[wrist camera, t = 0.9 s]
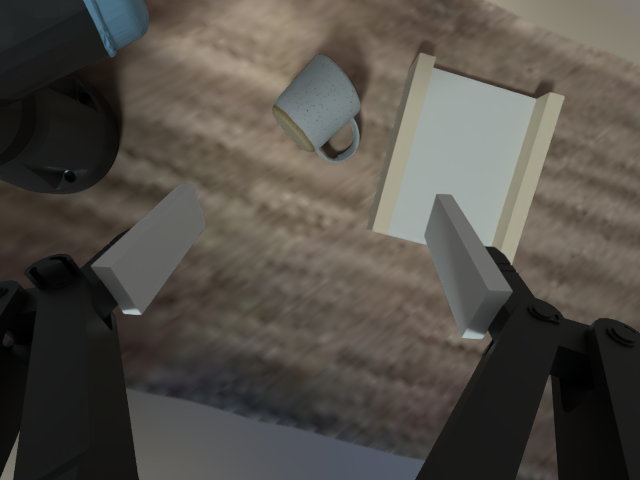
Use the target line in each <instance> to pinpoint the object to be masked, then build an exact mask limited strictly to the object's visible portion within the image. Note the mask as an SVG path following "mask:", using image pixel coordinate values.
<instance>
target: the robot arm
mask: <svg viewBox="0 0 640 480" xmlns="http://www.w3.org/2000/svg"><path fill="white" fill-rule="evenodd" d="M148 26H149V14H148V9H147V6H146V3H145V1H144V0H0V180H3V181H5V182H7V183H10V184H12V185H15V186H17V187H20V188H22V189H26V190H29V191H34V192H40V193H50V194H71V193H76V192H80V191H83V190H85V189H87V188H89V187H91V186H93V185H94V184H96V183H97V182H98V181H99V180H101V179H102V178H103V177H104V175H105V174H106V173H107V172H108V170H109V169H110V167H111V165H112V163H113V161H114V159H115V156H116V152H117V147H118V130H117V125H116V121H115V118H114V115H113V113H112V111H111V109H110V107H109V105H108V103H107V102H106V100H105V99H104V98H103V96H102V95H101V94H100V93H99V92H98V91H97V90H96V89H95V88H94V87H93V86H91V85H90V84H89V83H87V82H86V81H84V80H82V79H81V78H79V77H77V76H76V75H74V74H72V73H74V72H76V71H78V70H80V69H82V68H84V67H86V66H88V65H90V64H92V63H94V62H96V61H98V60H100V59H102V58H104V57H106V56H108V55H109V56H110V57H115V56H116V55H117V51H118V50H120V49H121V48H123V47H125V46H127V45H128V44H130V43H132V42H133V41H135V40H137V39H139V38H140V37H142V36H143V35H144V34H145V33H146V31H147V29H148ZM205 227H206V223H205V219H204V216H203V213H202V210H201V207H200V203H199V200H198V197H197V194H196V191H195V187H194V184H180V185H178V186H177V187H176V188H175V189H174V190H173V191H172V192H171V193H170V194H169V195H168V196H166V197H165V198H164V199H163V200H162V201H161V202H160V203H159V204H158V205H157V206H156V207H154V208H153V209H152V210H151V211H150V212H149V213H148V214H147V215H146V216H145V217H143V218H142V219H141V220H140V221H139V222H138V223H137V224H136V225H135V226H134V227H133V228H131V229H128V230H127V231H125V232H123V233H121V234H119V235H118V236H116V237H115V238H114V239H113V240H112V241H111V242H110V244H108V245H106V246H105V247H104V248H103V250H101V251H100V252H99V253H97V254H96V255H95V256H94V257H93V258H92V259H91V260H90V261H88V262H87V263H86V264H85V265H84V266H83V267H82V268H81V269H80V268H79V267H78V265H77V264H76V263H75V262H74V260H73V259H72V258H71V256H70V255H67V254H57V255H52V256H49V257H46V258H43V259H41V260H39V261H37V262H35V263H34V264H32V265H31V266H30V267H29V268H27V270H26V271H25V273H24V274H25V275H26V276H27V277H28V278H29V280H30V281H31V282H32V283H33V284H34V285H35V286H36V287H35V288H29V289H24V288H23V287H22V286H21V285H20V284H19V283H18V282H17V281H3V282H0V477H1V475H2V472H3V470H4V467H5V465H6V462H7V460H8V458H9V455H10V453H11V450H12V448H13V445H14V443H15V441H16V438H17V436H18V433H19V431H20V434H19V442H18V449H17V456H16V463H15V471H14V478H13V480H139V477H138V473H137V465H136V458H135V450H134V444H133V436H132V429H131V423H130V416H129V408H128V401H127V394H126V387H125V380H124V372H123V365H122V358H121V351H120V344H119V337H118V330H117V323H116V317H115V315H114V313H113V312H112V311H113V310H114V308H115V307H116V306H117V305H118V306H119V307H120V308H121V310H122V311H123V313H124V314H136V315H142V313H143V312H144V311H145V309H146V308H147V307H148V305H149V304H150V302H151V301H152V300H153V298H154V297H155V296H156V294H157V293H158V291H159V290H160V289H161V287H162V286H163V285H164V283H165V282H166V280H167V279H168V278H169V276H170V275H171V273H172V272H173V271H174V269H175V268H176V267H177V265H178V264H179V262H180V261H181V260H182V258H183V257H184V256H185V254H186V253H187V251H188V250H189V249H190V247H191V246H192V245H193V243H194V242H195V240H196V239H197V238H198V236H199V235H200V234H201V232H202V231H203V229H204V228H205ZM424 237H425V240H426V243H427V246H428V248H429V251H430V254H431V256H432V259H433V262H434V264H435V267H436V270H437V273H438V275H439V278H440V281H441V283H442V286H443V289H444V291H445V294H446V297H447V299H448V302H449V305H450V308H451V310H452V313H453V316H454V318H455V321H456V324H457V326H458V329H459V332H460V334H461V337H462V338H473V339H482V338H483V337H484V335H485V334H486V332H487V331H489V333H490V335H491V337H492V341H491V342H490V344H489V345H488V346H487V348H486V349H485V351H484V352H483V354H482V355H483V356H482V358H481V360H480V362H479V364H478V366H477V367H476V369H475V371H474V373H473V375H472V377H471V378H470V380H469V382H468V384H467V386H466V388H465V389H464V391H463V393H462V395H461V397H460V399H459V400H458V402H457V404H456V406H455V408H454V410H453V411H452V413H451V415H450V417H449V419H448V421H447V422H446V424H445V426H444V428H443V430H442V432H441V433H440V435H439V437H438V439H437V441H436V442H435V444H434V446H433V448H432V450H431V452H430V453H429V455H428V457H427V459H426V461H425V463H424V464H423V466H422V468H421V470H420V472H419V474H418V476H417V477H416V479H415V480H515V478H516V475H517V472H518V469H519V466H520V463H521V460H522V457H523V453H524V450H525V447H526V444H527V441H528V438H529V435H530V432H531V429H532V426H533V422H534V419H535V416H536V413H537V410H538V407H539V404H540V401H541V398H542V395H543V392H544V388H545V385H546V382H547V379H548V376H549V374H550V375H551V381H552V395H553V409H554V423H555V437H556V451H557V465H558V479H559V480H640V333H639V332H638V331H636V330H635V329H633V328H631V327H630V326H628V325H626V324H624V323H621V322H619V321H617V320H613V319H608V318H599V319H598V320H596V321H595V322H594V323H593V324H592V325H591V326H589V325H586V324H582V323H579V322H575V321H572V320H569V319H565V318H564V317H563V316H562V314H561V313H560V312H559V311H558V310H557V309H556V308H555V307H554V306H552V305H550V304H549V303H547V302H545V301H542V300H540V299H537V298H535V297H534V296H533V294H532V293H531V291H530V290H529V289H528V287H527V286H526V284H525V283H524V281H523V280H522V279H521V277H520V276H519V274H518V273H516V270H515V269H514V267H513V266H512V265H511V263H510V261H509V260H508V259H507V257H506V256H505V254H503V253H502V252H501V251H499V250H498V249H497V248H495V247H491V246H484V245H483V243H482V242H481V240H480V239H479V237H478V235H477V234H476V232H475V231H474V229H473V227H472V226H471V224H470V223H469V221H468V220H467V218H466V216H465V215H464V213H463V212H462V210H461V209H460V207H459V205H458V204H457V202H456V201H455V199H454V197H453V196H452V194H436V197H435V200H434V204H433V207H432V211H431V214H430V217H429V221H428V224H427V227H426V231H425V234H424ZM4 336H6V337H7V338H8V339H9V342H8V344H7V345H6V346H3V342H2V341H3V338H4Z"/></svg>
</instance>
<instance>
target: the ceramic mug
mask: <svg viewBox="0 0 640 480" xmlns="http://www.w3.org/2000/svg"><path fill="white" fill-rule="evenodd" d="M272 111H273V115H274V117H275V119H276V120H277V121H278V123H279V124H280V125H281V126H282V128H283V129H284V130H285V131H286V132H287V133H288V135H289V136H290V137H291V138H292V139H293V140H294V141H295V142H296V143H297V144H298V145H299V146H300V147H301V148H302V149H304V150H305V151H307V152H313V151H316V152H317V153H318V155H320V156H321V157H322V158H324V159H325V160H327V161H329V162H333V163H340V162H343V161H346V160H347V159H349V158H350V157H351V156H352V155H353V154H354V153H355V152H356V150H357V148H358V145H359V130H358V126H357V123H356V121H355V119H354V116H355V115H356V114H357V113H358V112H359V111H360V101H359V97H358V94H357V92H356V90H355V88H354V87H353V85H352V83H351V81H350V80H349V78H348V77H347V76H346V74H345V73H344V72H343V70H342V69H341V68H340V67H339V66H338V65H337V64H336V63H335V62H334V61H333V60H331V59H330V58H329V57H327V56H325V55H322V54H319V55H316V56H315V57H314V58H313V59H312V60H311V62H310V63H309V64H308V65H307V66H306V67H305V69H304V70H303V71H302V72H301V73H300V74H299V75H298V76H297V77H296V78H295V79H294V81H293V82H292V83H291V84H290V85H289V86H288V87H287V88H286V90H285V91H284V92H283V93H282V94H281V95H280V96H279V98H278V99H277V101H276V102H275V104H274V106H273V109H272ZM348 121H349V123H350V125H351V127H352V131H353V143H352V145H351V147H350V148H348V149H347V150H346V151H345V152H344V153H342V154H341V155H338V156H337V157H336V158H334V159H333V158H329V157H327V156H326V155H325V154H324V153H323V152H322V151H321V150H320V147H321V146H322V145H324V144H325V143H326V142H327V141H328V140H329V139H330V138H331V137H332V136H333V135H334V134H335V133H336V132H337V131H339V130H340V129H341V128H342V127H343V126H344V125H345V124H346V123H348Z"/></svg>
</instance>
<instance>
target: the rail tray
mask: <svg viewBox="0 0 640 480" xmlns="http://www.w3.org/2000/svg"><path fill="white" fill-rule="evenodd" d="M435 59H436V57H434V56H431V55H427V54H424V53H421V52H420V54H419V55H418V56H417V58H416V59H415V61H414V62H413V64H412V65H411V67H410V70H409V73H408V77H407V81H406V84H405V88H404V92H403V96H402V99H401V103H400V107H399V111H398V114H397V118H396V122H395V125H394V129H393V133H392V137H391V140H390V144H389V148H388V151H387V155H386V159H385V163H384V166H383V170H382V174H381V178H380V181H379V185H378V189H377V192H376V196H375V200H374V204H373V207H372V211H371V215H370V219H369V222H368V226H367V230H371V231H375V232H379V233H382V234H386V235H390V236H394V237H398V238H402V239H406V240H410V241H414V242H418V243H422V244H425V245H427V243H426V240H425V237H424V234H425V231H426V227H427V224H428V221H429V217H430V214H431V211H432V207H433V204H434V200H435V197H436V194H452V196H453V197H454V199H455V201H456V202H457V204H458V205H459V207H460V209H461V210H462V212H463V213H464V215H465V216H466V218H467V220H468V221H469V223H470V224H471V226H472V227H473V229H474V231H475V232H476V234H477V235H478V237H479V239H480V240H481V242H482V243H483V245H484V246H491V247H495V248H497V249H498V250H499V251H501V252H502V253H503V254H505V256H506V257H507V259H508V260H509V261H510V263H511V265H512V262H513V259H514V256H515V253H516V249H517V246H518V243H519V240H520V237H521V234H522V230H523V227H524V224H525V221H526V218H527V215H528V211H529V208H530V205H531V202H532V199H533V196H534V192H535V189H536V186H537V183H538V180H539V177H540V173H541V170H542V167H543V164H544V161H545V158H546V154H547V151H548V148H549V145H550V142H551V139H552V135H553V132H554V129H555V126H556V123H557V120H558V116H559V113H560V110H561V107H562V104H563V101H564V97H565V96H562V95H558V94H555V93H552V92H549V93H547V94H545V95H543V96H541V97H539V98H537V99H535V98H532V97H529V96H525V95H522V94H519V93H515V92H512V91H509V90H505V89H502V88H499V87H495V86H492V85H489V84H486V83H482V82H479V81H476V80H472V79H469V78H466V77H462V76H459V75H456V74H453V73H449V72H446V71H443V70H439V69H436V68H433V66H434V63H435Z"/></svg>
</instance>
